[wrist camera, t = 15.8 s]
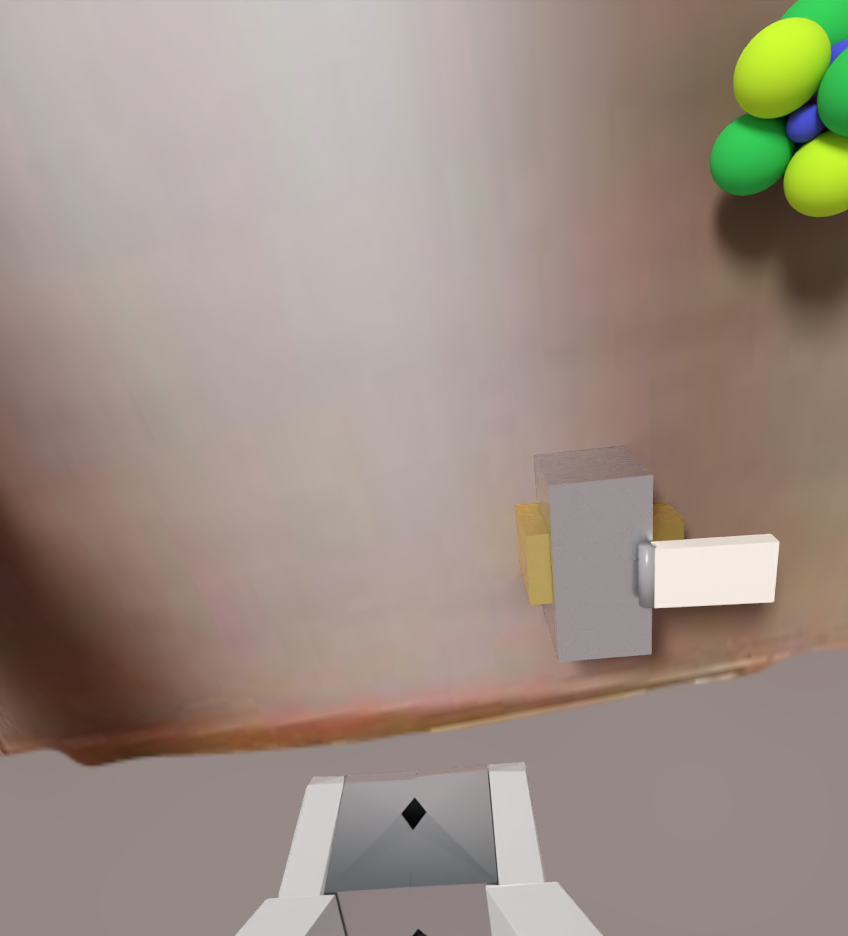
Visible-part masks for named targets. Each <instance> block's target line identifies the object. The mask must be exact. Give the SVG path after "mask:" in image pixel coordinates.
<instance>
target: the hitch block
mask: <svg viewBox="0 0 848 936" xmlns="http://www.w3.org/2000/svg"><path fill="white" fill-rule="evenodd" d="M534 465H535V481H536V497H537V505H538V507H539V510H540V512H541V515H542V517H543V519H544V522H545V524H546V527H547V529H548V532H549V537H550V554H551V572H552V590H553V603H551V604H543V607H544V615H545V618H546V622H547V625H548V628H549V632H550V635H551V638H552V642H553V645H554V648H555V652H556V655H557V658H558V662H565V661H577V660H589V659H601V658H613V657H625V656H637V655H648V654H652V608H643V607H641V606H640V605H639V544H640V543H643V542H653V474H652V473H651V472H650V471H649V470H648V469H647V468H646V467H645V466H644V465H643V464H642V463H641V462H640V461H639V460H637V459H636V458H635V457H634V456H633V455H632V454H631V453H630V452H629V451H628V450H627V449H626V448H625V447H624V446H617V447H608V448H598V449H589V450H580V451H570V452H561V453H552V454H543V455H534Z"/></svg>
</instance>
